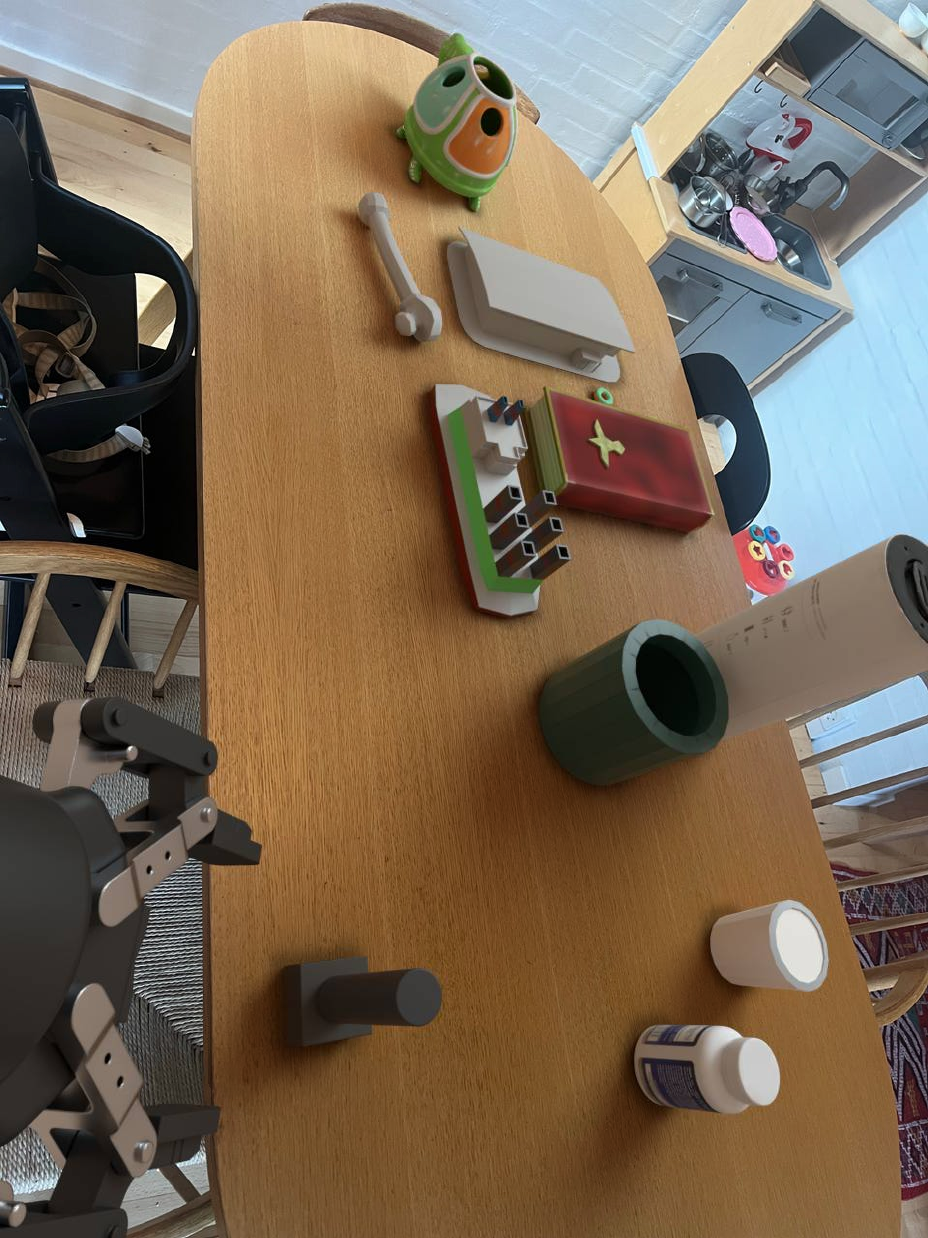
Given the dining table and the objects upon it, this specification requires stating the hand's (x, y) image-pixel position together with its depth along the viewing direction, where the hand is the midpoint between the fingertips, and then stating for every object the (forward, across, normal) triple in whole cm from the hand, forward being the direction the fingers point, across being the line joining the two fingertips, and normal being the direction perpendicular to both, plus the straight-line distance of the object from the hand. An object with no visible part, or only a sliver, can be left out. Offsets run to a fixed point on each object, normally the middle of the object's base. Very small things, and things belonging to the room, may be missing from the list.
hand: (219, 976), depth 28 cm
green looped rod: (+44, +64, -15) cm, 79 cm away
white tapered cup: (+49, +6, -20) cm, 54 cm away
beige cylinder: (+47, +28, -18) cm, 58 cm away
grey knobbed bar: (+22, +67, +7) cm, 71 cm away
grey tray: (+35, +73, -6) cm, 81 cm away
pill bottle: (+43, -3, -13) cm, 45 cm away
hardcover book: (+42, +54, -13) cm, 69 cm away
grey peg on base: (+23, 0, +6) cm, 24 cm away
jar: (+39, +23, -10) cm, 46 cm away
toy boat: (+30, +44, -1) cm, 53 cm away
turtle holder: (+25, +91, +4) cm, 94 cm away
